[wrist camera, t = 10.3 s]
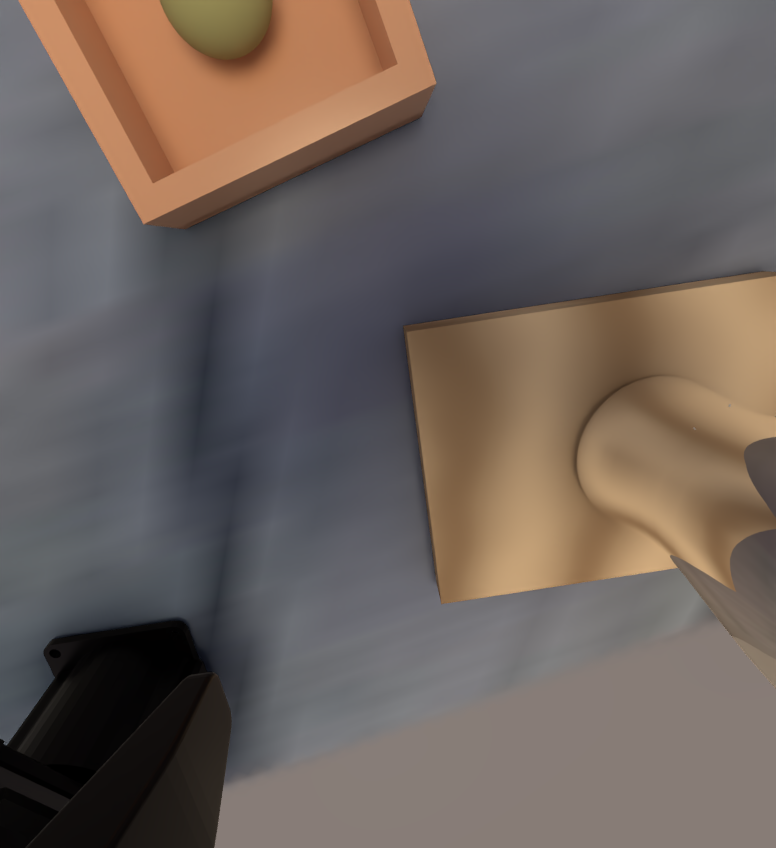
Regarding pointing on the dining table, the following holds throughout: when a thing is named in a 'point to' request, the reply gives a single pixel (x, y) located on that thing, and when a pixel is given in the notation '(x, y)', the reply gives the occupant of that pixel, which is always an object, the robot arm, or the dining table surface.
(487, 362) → the oak board
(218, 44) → the olive
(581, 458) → the metal goblet
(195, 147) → the terracotta dish
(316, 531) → the dining table surface
